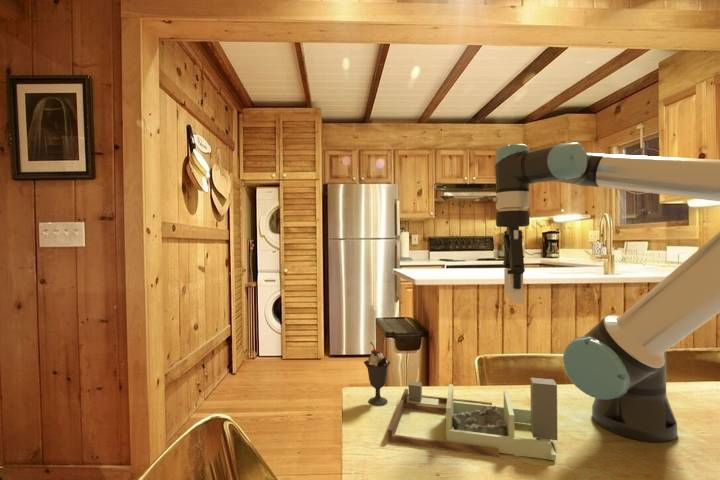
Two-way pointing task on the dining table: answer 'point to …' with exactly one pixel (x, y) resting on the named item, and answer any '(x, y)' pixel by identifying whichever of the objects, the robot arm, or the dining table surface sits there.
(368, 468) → the dining table surface
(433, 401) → the broken strip
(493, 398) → the dining table surface
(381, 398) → the sundae
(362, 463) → the dining table surface
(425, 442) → the frame
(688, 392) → the dining table surface
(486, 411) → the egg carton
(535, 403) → the sage green shelf unit
